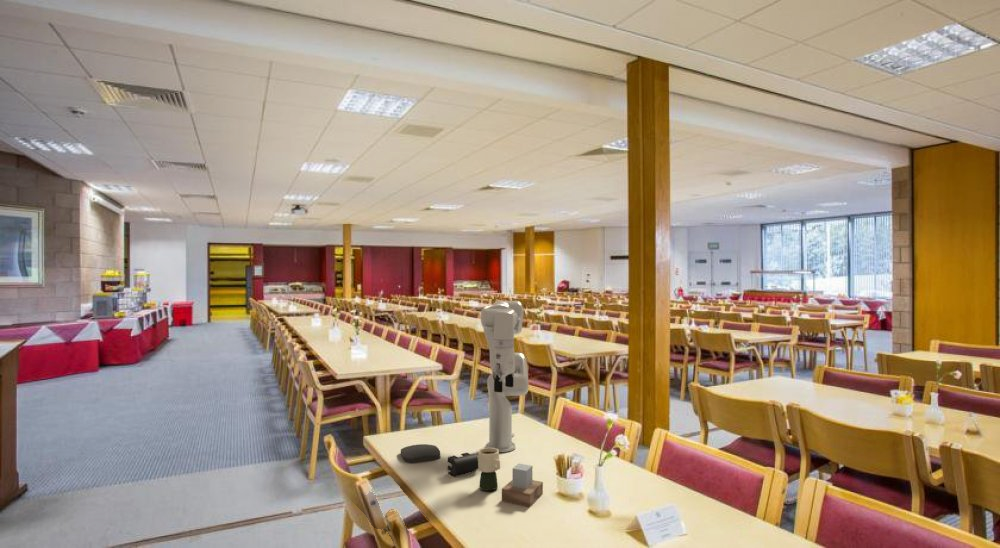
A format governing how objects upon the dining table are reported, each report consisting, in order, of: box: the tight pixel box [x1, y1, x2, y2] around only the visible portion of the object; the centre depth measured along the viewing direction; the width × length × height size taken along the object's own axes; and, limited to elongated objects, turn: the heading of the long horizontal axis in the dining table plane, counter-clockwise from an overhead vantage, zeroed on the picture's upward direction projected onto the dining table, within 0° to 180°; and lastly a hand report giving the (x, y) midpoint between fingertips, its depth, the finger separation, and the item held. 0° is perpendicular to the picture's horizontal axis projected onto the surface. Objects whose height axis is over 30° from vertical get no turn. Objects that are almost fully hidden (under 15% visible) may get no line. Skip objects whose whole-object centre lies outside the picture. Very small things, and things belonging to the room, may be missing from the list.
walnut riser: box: [501, 479, 544, 508], centre depth 174 cm, size 11×10×4 cm
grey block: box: [512, 463, 533, 489], centre depth 174 cm, size 5×5×6 cm
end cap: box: [446, 452, 479, 478], centre depth 195 cm, size 10×7×7 cm
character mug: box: [477, 447, 501, 491], centre depth 181 cm, size 11×7×13 cm, turn 43°
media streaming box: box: [400, 443, 441, 464], centre depth 214 cm, size 15×15×3 cm
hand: (503, 389), depth 198 cm, fingers open, 9 cm apart
